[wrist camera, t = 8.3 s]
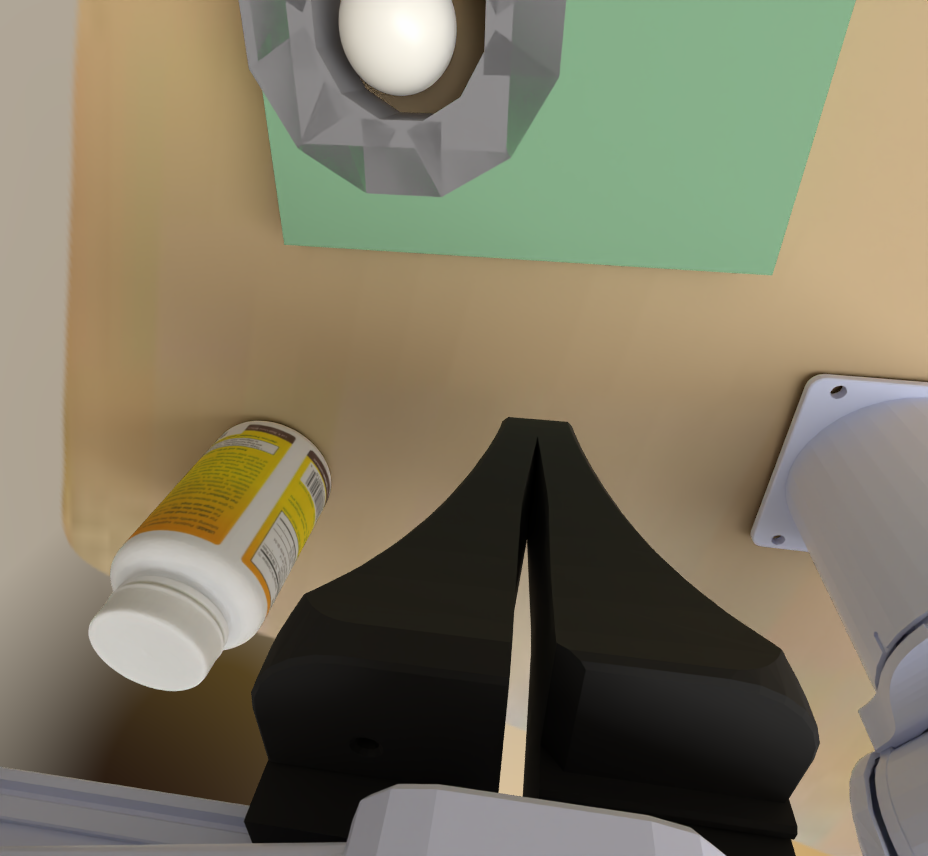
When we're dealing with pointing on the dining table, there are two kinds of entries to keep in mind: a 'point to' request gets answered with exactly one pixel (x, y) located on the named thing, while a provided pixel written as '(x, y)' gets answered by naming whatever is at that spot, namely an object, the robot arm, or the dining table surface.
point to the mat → (558, 133)
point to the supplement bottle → (211, 556)
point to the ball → (398, 42)
